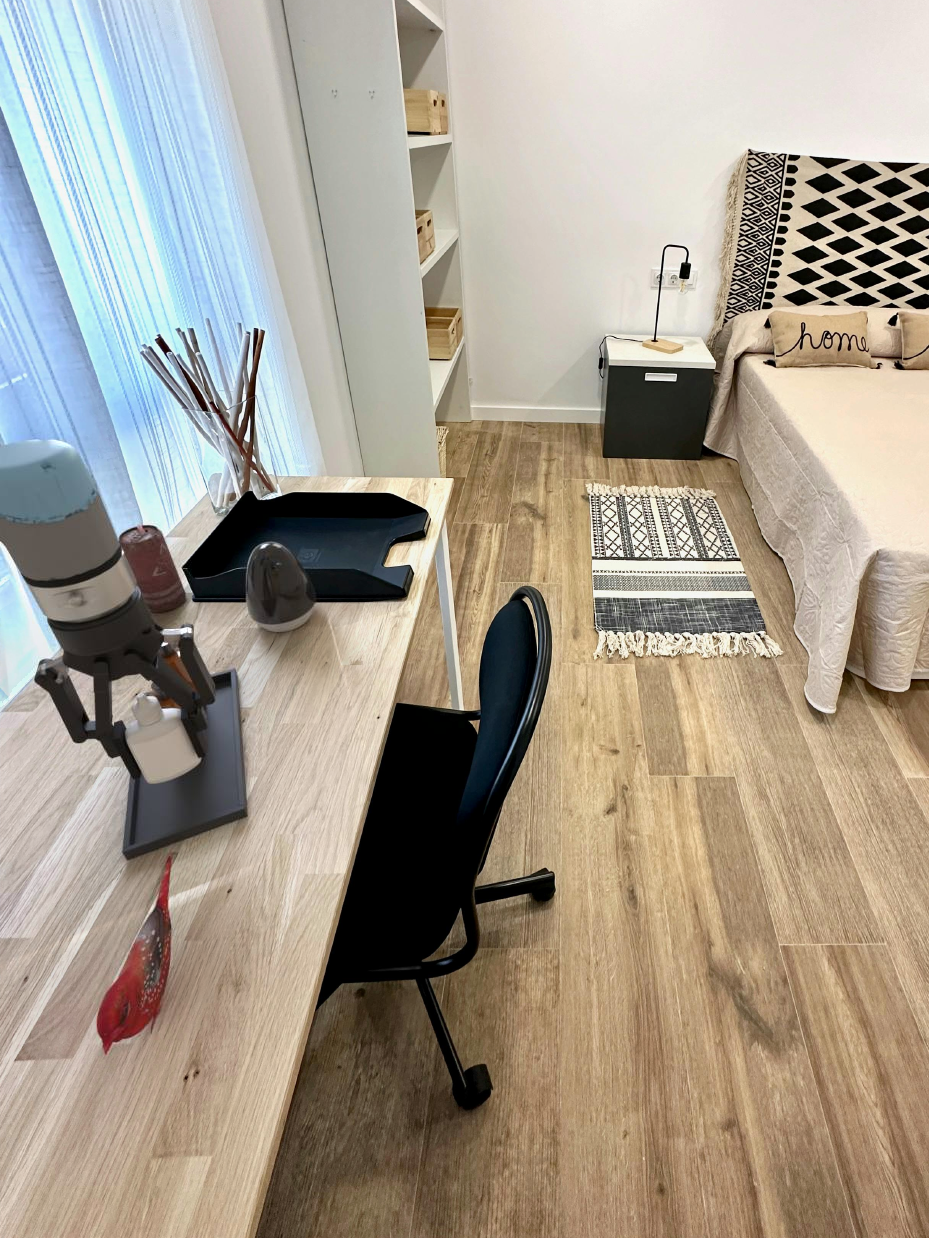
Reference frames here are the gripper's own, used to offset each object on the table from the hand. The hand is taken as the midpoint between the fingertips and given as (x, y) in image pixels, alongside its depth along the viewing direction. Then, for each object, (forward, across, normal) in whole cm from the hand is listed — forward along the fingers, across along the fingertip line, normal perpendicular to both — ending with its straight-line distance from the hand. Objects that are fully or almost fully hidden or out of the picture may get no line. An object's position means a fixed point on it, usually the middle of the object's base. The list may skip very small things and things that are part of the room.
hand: (170, 758), depth 73 cm
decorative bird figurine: (+8, -2, -20) cm, 22 cm away
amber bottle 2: (+7, 0, +8) cm, 11 cm away
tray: (+8, 0, +7) cm, 11 cm away
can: (+8, -4, +44) cm, 45 cm away
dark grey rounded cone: (+8, +14, +30) cm, 34 cm away
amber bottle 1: (+7, 0, +16) cm, 18 cm away
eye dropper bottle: (+2, 0, 0) cm, 2 cm away
